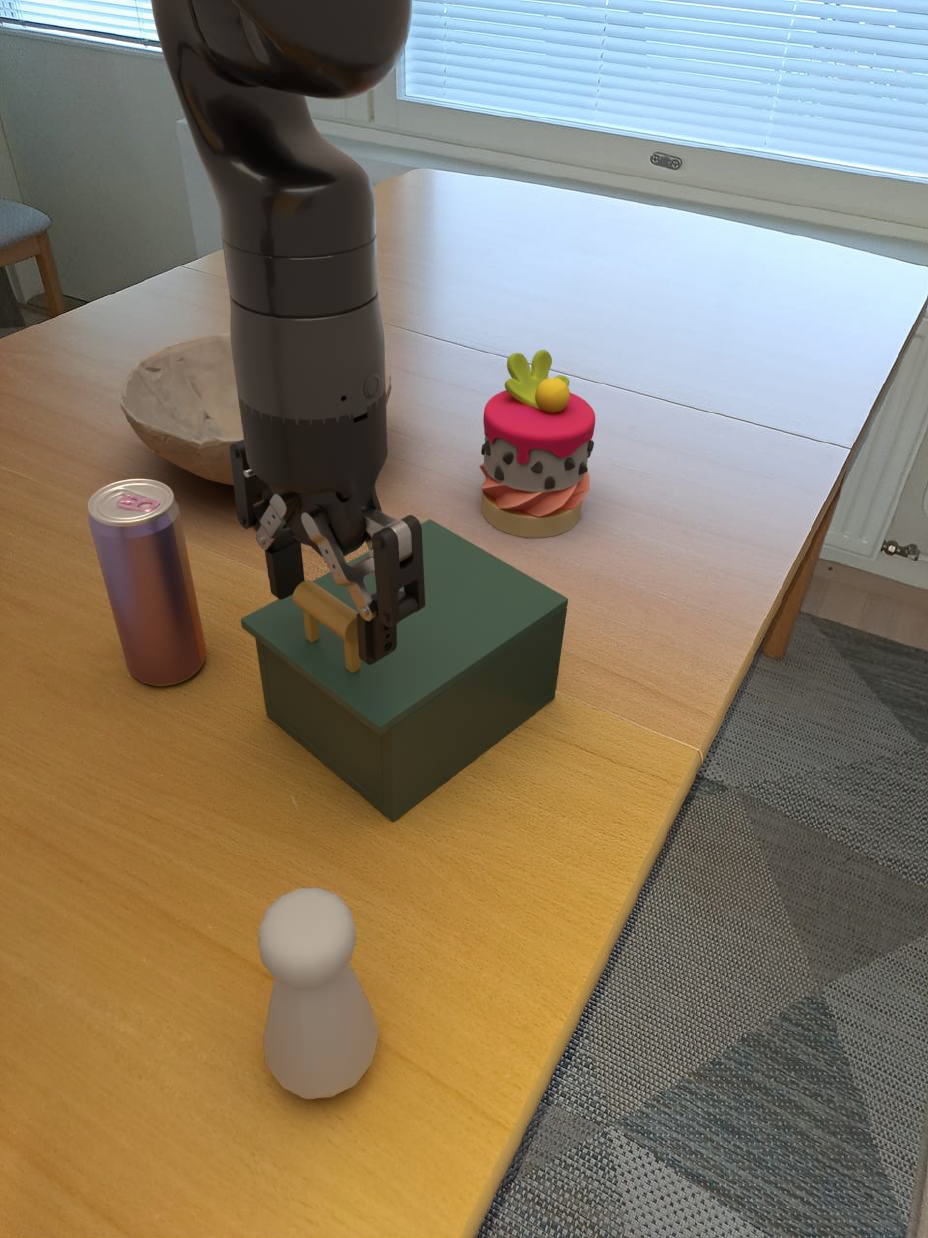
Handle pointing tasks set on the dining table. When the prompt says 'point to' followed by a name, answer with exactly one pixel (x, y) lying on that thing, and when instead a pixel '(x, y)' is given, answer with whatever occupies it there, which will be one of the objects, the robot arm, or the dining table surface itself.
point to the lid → (407, 629)
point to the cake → (535, 451)
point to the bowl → (190, 404)
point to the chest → (417, 720)
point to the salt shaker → (314, 995)
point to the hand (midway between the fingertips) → (331, 623)
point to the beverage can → (148, 579)
